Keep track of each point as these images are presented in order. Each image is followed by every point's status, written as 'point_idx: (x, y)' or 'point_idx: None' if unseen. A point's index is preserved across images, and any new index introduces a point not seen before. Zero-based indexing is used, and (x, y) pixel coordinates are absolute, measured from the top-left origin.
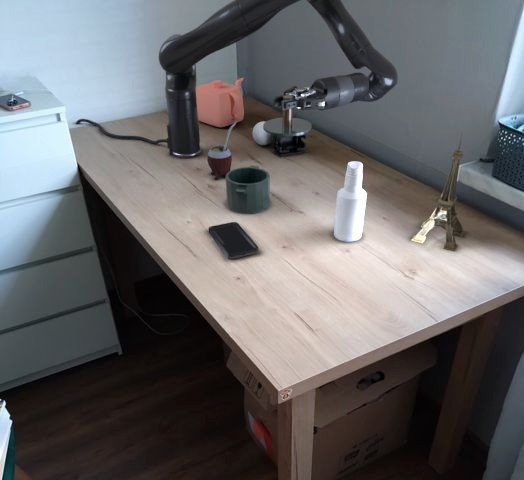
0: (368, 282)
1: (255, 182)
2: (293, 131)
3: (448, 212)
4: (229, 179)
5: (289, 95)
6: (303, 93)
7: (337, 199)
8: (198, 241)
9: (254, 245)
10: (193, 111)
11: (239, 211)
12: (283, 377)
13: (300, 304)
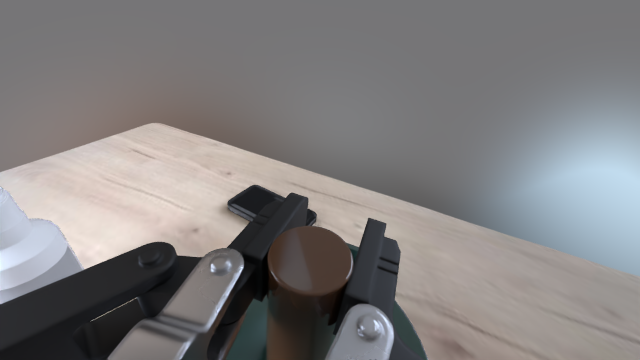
0: (48, 211)
1: None
2: None
3: None
4: (353, 248)
5: (319, 285)
6: (166, 350)
7: (64, 237)
8: (311, 201)
9: (235, 207)
10: None
11: None
12: (153, 125)
13: (150, 166)
